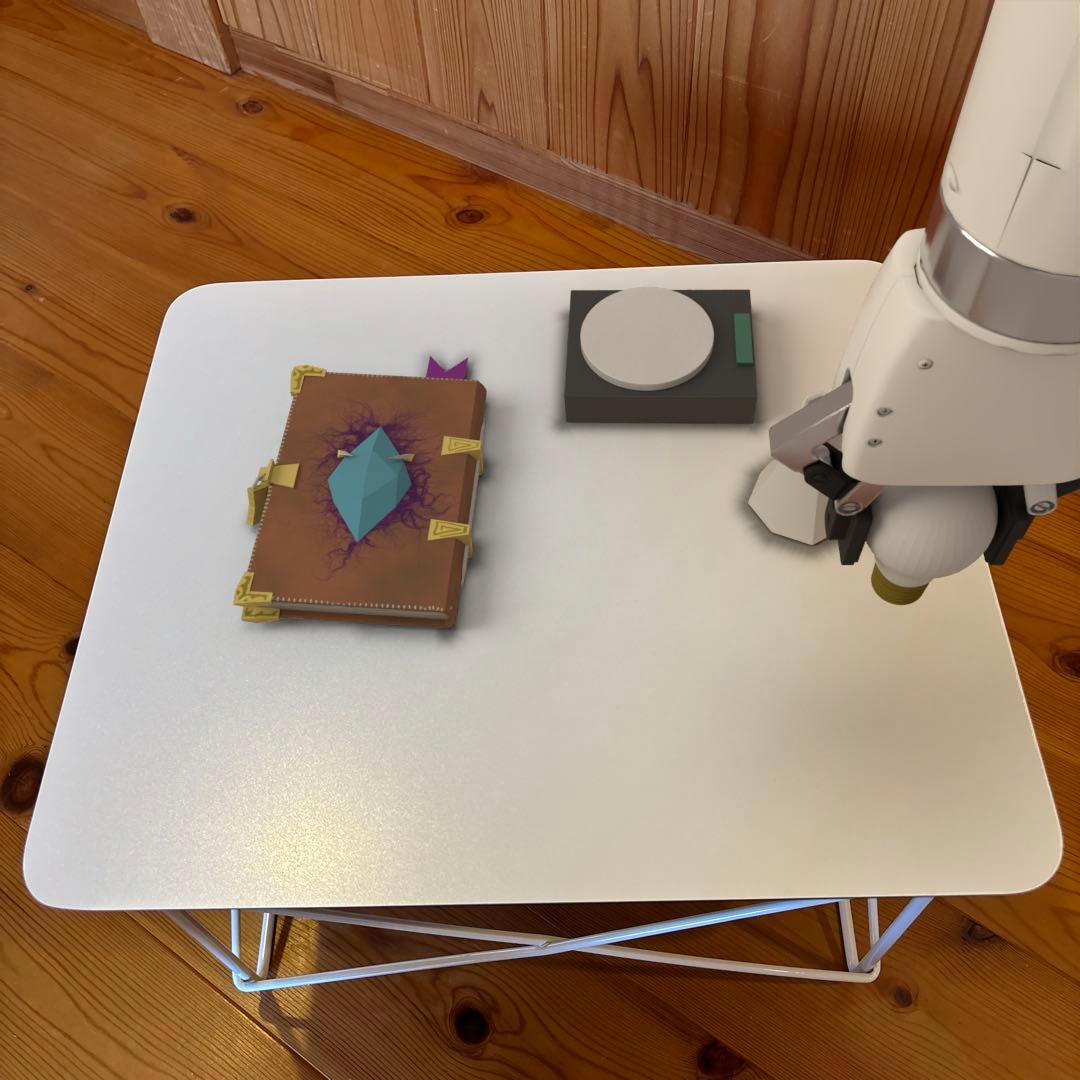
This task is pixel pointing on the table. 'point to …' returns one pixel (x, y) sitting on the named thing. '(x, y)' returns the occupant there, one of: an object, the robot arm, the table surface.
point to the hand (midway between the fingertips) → (916, 537)
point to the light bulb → (927, 536)
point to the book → (368, 500)
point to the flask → (791, 498)
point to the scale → (660, 356)
